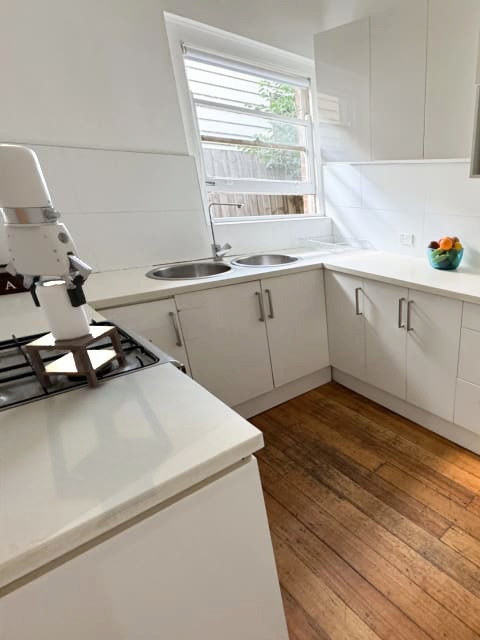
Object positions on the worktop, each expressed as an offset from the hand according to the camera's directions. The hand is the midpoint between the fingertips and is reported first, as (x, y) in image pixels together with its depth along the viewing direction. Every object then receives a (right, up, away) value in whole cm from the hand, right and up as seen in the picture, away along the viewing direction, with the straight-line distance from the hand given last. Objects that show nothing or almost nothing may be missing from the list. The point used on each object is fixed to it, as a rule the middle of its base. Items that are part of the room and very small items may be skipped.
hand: (61, 304), depth 80 cm
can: (0, -7, +3) cm, 7 cm away
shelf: (0, -16, +7) cm, 17 cm away
